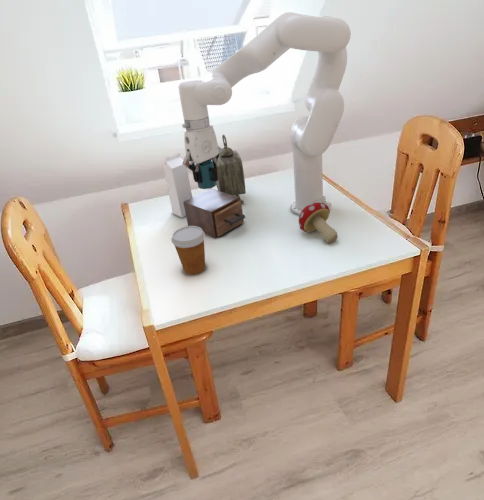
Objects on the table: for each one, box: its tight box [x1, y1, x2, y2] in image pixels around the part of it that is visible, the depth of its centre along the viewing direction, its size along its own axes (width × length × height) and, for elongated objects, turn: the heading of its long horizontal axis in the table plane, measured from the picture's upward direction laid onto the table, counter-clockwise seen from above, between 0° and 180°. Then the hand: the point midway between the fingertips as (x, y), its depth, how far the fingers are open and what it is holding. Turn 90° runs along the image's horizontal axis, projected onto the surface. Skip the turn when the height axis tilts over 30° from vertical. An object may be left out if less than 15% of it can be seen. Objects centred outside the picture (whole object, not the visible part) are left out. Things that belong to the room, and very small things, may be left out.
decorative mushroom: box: [298, 202, 339, 244], centre depth 136 cm, size 11×11×15 cm
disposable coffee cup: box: [171, 225, 206, 276], centre depth 126 cm, size 10×10×12 cm
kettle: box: [194, 159, 218, 190], centre depth 142 cm, size 11×6×10 cm, turn 47°
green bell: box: [215, 134, 247, 205], centre depth 160 cm, size 14×9×25 cm, turn 13°
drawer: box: [213, 201, 246, 237], centre depth 146 cm, size 17×11×8 cm
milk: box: [162, 152, 193, 219], centre depth 156 cm, size 6×6×22 cm
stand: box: [183, 188, 240, 239], centre depth 149 cm, size 14×13×10 cm
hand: (206, 178), depth 143 cm, fingers closed on kettle, 6 cm apart
